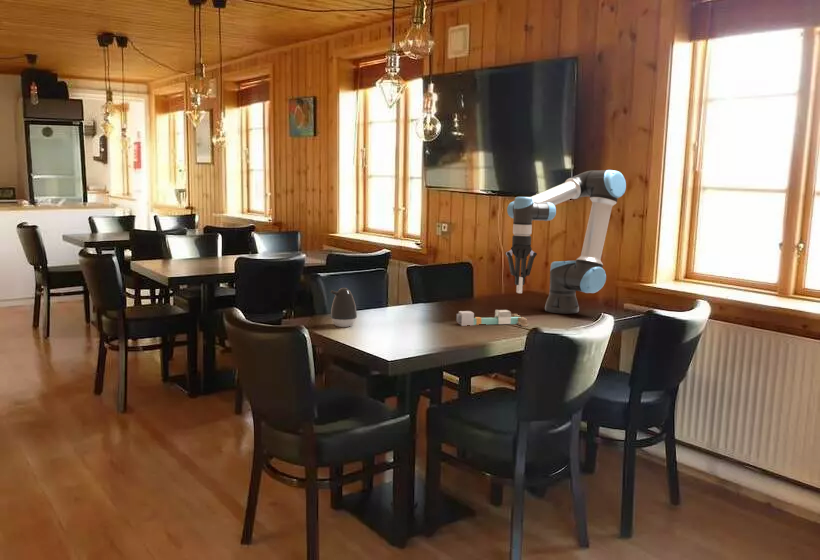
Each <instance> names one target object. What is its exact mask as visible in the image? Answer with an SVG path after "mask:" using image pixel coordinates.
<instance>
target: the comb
mask: <svg viewBox="0 0 820 560" xmlns="http://www.w3.org/2000/svg"><path fill="white" fill-rule="evenodd" d="M511 317H518V322H517V324H516V325H519V326H520V327H528V326H529V325H528V319H527V318H525V317H524V316H522V317H521V315H520V314H519V315H518V313H511Z"/></svg>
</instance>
